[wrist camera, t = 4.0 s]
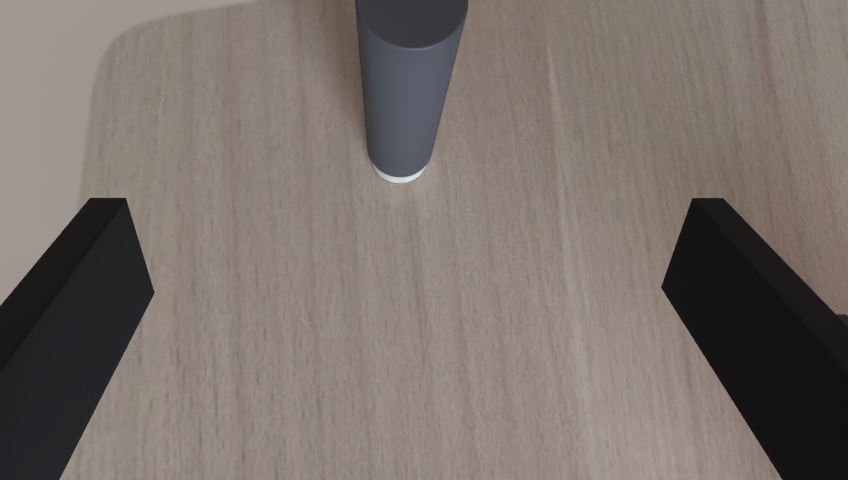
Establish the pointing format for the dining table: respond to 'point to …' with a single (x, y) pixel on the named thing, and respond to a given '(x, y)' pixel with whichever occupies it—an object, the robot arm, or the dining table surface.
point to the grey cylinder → (406, 78)
